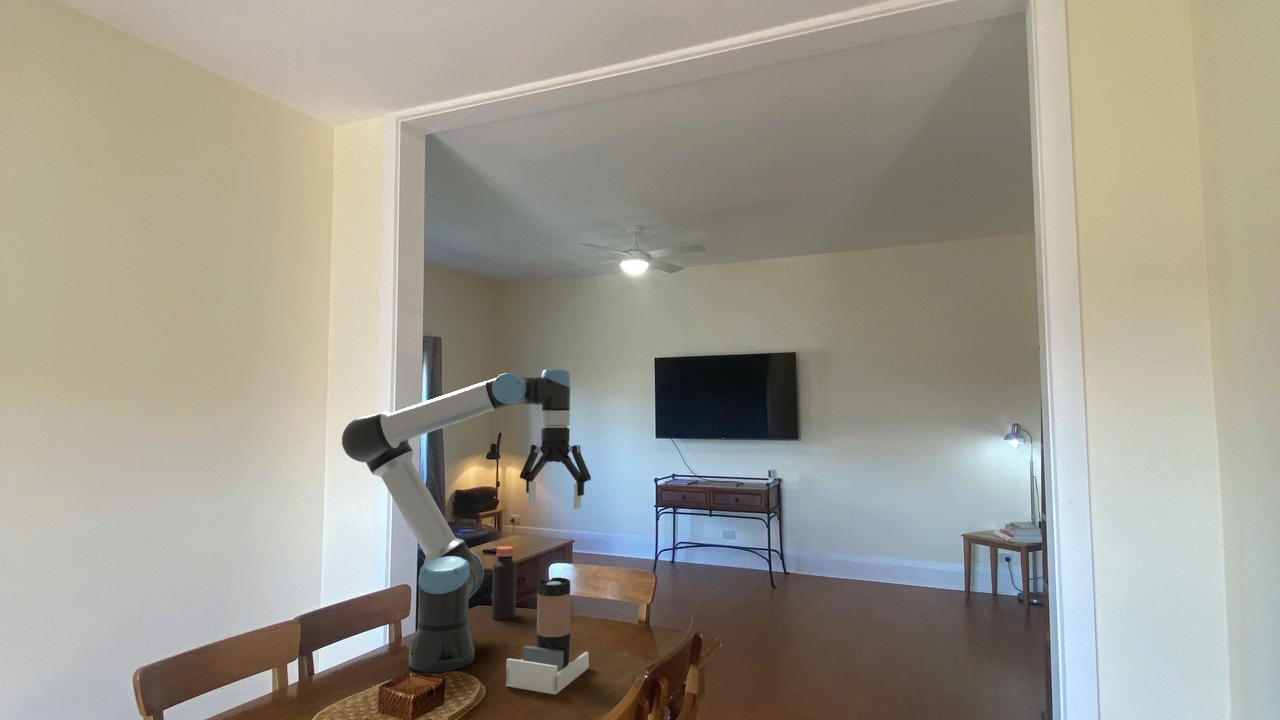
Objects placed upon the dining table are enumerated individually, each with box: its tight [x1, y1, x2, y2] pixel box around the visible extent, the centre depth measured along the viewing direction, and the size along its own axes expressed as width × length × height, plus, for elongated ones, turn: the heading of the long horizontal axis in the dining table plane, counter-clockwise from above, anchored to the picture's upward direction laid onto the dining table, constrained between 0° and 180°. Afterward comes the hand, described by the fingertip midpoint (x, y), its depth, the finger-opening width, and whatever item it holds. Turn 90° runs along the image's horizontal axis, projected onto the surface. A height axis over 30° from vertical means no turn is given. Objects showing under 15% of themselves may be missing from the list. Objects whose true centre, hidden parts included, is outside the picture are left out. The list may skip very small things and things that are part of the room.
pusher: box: [522, 645, 564, 672], centre depth 147 cm, size 10×2×6 cm, turn 69°
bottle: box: [491, 545, 517, 621], centre depth 195 cm, size 7×7×20 cm
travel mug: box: [536, 577, 571, 668], centre depth 152 cm, size 8×8×20 cm
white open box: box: [505, 651, 590, 696], centre depth 149 cm, size 12×16×6 cm
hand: (554, 507), depth 175 cm, fingers open, 13 cm apart
